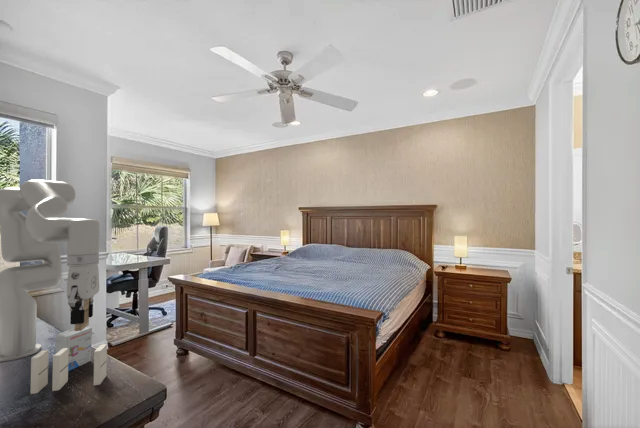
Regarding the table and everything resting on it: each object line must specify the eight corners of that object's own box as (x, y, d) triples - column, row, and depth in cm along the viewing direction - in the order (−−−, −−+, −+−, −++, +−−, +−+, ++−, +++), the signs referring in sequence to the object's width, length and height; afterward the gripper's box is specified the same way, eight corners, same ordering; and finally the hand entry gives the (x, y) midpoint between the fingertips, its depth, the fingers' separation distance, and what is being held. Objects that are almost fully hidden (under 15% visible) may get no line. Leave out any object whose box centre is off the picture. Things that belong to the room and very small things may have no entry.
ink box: (66, 373, 94) (67, 336, 94) (53, 371, 95) (54, 334, 95) (91, 360, 103) (92, 326, 103) (80, 359, 104) (80, 325, 104)
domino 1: (30, 394, 83) (31, 358, 83) (40, 384, 88) (41, 350, 88) (37, 393, 83) (38, 357, 84) (47, 383, 88) (48, 349, 88)
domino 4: (93, 385, 88) (94, 351, 88) (100, 376, 92) (101, 344, 92) (99, 384, 88) (100, 350, 88) (106, 375, 93) (107, 344, 93)
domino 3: (88, 324, 91) (89, 292, 92) (81, 330, 87) (81, 296, 87) (82, 325, 91) (83, 292, 91) (74, 331, 86) (75, 296, 86)
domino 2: (52, 391, 84) (52, 355, 85) (61, 381, 89) (62, 348, 89) (59, 390, 85) (59, 355, 85) (67, 381, 90) (68, 347, 90)
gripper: (85, 263, 82) (83, 329, 82) (108, 255, 98) (107, 310, 98) (52, 264, 80) (50, 332, 80) (81, 256, 96) (80, 312, 96)
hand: (81, 319), depth 89 cm, fingers closed on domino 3, 4 cm apart
